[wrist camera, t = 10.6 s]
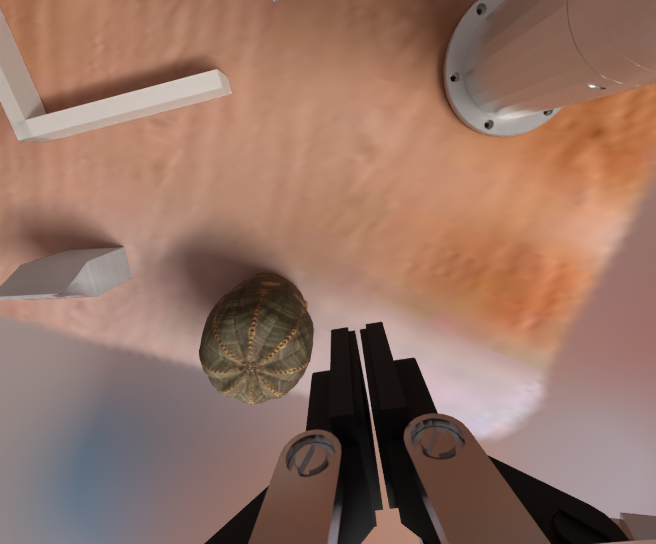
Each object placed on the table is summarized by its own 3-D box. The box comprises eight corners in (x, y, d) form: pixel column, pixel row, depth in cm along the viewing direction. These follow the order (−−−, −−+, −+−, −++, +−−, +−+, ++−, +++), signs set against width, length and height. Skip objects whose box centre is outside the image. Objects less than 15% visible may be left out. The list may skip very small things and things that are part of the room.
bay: (161, -161, 27) (141, -199, 24) (232, 94, 33) (222, 87, 30) (-59, -87, 29) (-102, -114, 26) (44, 142, 35) (18, 140, 32)
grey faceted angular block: (67, 250, 38) (-22, 278, 29) (124, 246, 38) (53, 274, 28) (76, 280, 39) (-6, 317, 30) (132, 277, 39) (66, 314, 30)
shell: (230, 350, 42) (190, 420, 30) (222, 267, 38) (175, 311, 27) (316, 352, 42) (309, 423, 30) (316, 269, 38) (308, 314, 27)
